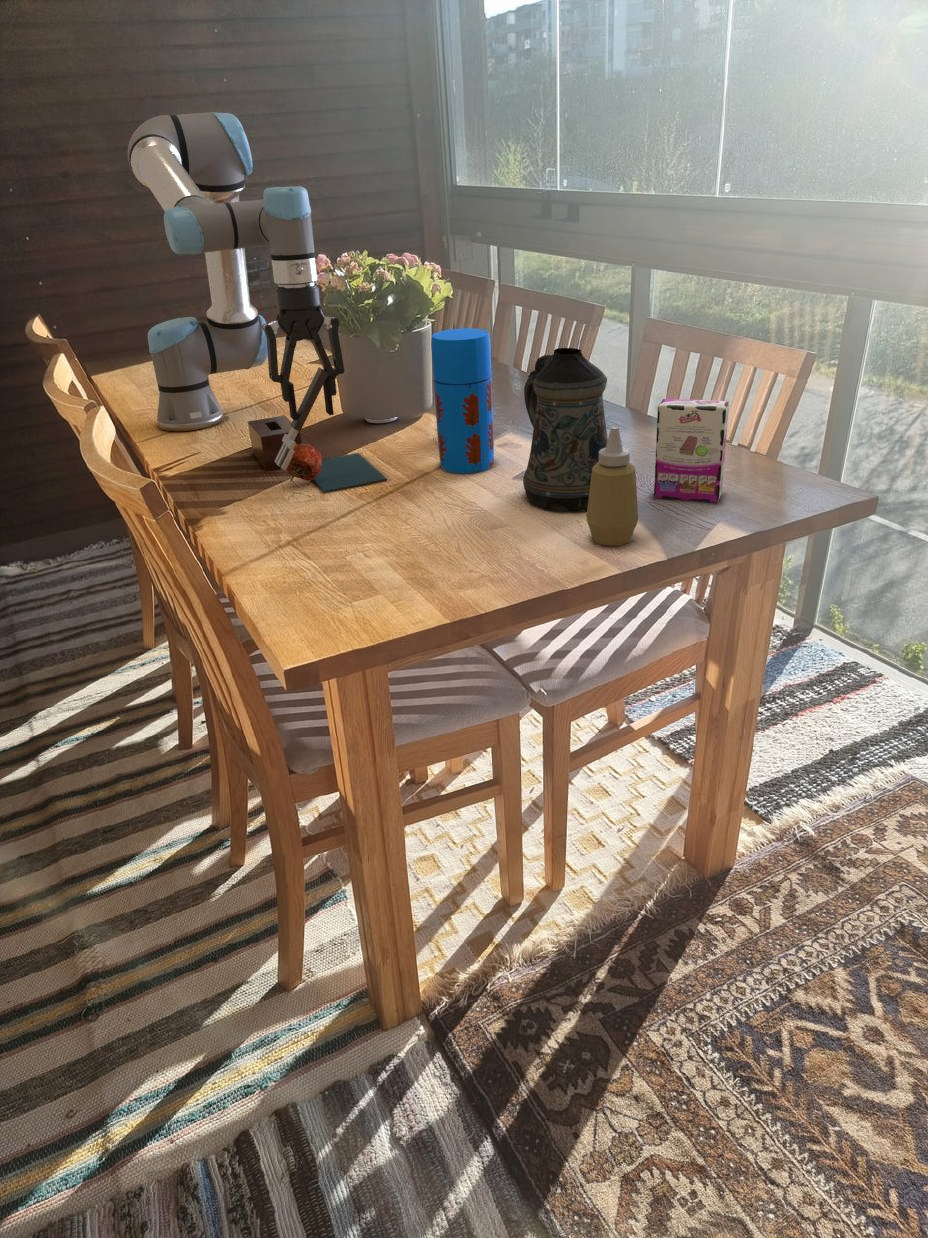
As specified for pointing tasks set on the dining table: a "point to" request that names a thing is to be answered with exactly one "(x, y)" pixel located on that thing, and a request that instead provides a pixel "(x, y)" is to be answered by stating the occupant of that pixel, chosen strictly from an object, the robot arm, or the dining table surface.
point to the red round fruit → (305, 462)
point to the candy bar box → (690, 449)
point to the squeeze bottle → (613, 494)
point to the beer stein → (564, 430)
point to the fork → (300, 419)
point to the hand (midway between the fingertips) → (312, 415)
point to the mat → (346, 473)
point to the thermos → (463, 399)
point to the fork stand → (269, 439)
